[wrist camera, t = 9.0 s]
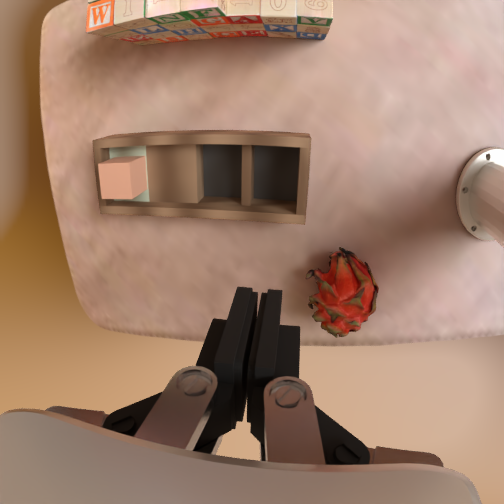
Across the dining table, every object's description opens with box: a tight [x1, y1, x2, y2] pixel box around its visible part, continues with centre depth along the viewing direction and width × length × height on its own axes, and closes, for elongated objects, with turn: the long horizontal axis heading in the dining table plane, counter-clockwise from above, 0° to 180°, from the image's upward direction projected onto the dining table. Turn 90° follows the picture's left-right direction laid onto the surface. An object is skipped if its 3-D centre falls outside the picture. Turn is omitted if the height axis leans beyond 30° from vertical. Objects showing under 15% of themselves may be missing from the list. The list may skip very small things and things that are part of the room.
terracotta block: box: [98, 156, 147, 199], centre depth 34 cm, size 4×4×4 cm
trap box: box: [93, 130, 311, 225], centre depth 35 cm, size 24×9×5 cm, turn 89°
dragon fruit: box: [306, 247, 379, 337], centre depth 38 cm, size 8×8×12 cm
